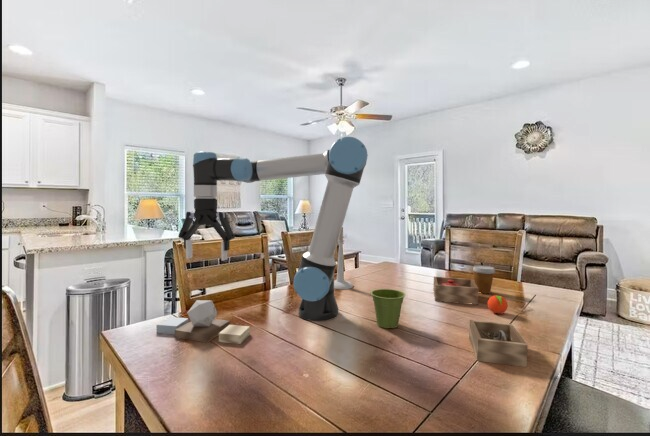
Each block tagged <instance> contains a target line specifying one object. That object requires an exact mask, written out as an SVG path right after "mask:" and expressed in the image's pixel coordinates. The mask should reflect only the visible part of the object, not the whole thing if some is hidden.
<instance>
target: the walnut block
mask: <svg viewBox="0 0 650 436" xmlns="http://www.w3.org/2000/svg"><path fill="white" fill-rule="evenodd" d="M230 321H231V320H227V319H221V318H220V319H219V318H215V319H214V320H213V321H212V323H211V324H210V326H209V327H199V326H193V325H192V323H191V320H189V323H187V324H185V325H183V326H181V327H179V328H177V329H175V334H174V338H177V339H178V338H179V339H184V340H190V341H191V340H192V341H197V342H201V343H202V342H203V343H209V342H211V340H213V339H215V338H216V337H219V333H220V332H221V331H222V330H223V329H225V328H226V327H227V326H228V325H231V323H230Z"/></svg>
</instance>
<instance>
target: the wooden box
mask: <svg viewBox="0 0 650 436" xmlns="http://www.w3.org/2000/svg"><path fill="white" fill-rule="evenodd" d="M448 280H453V281H454V282H453V283H455V284H458V285H459V286H448V285H442V284H443V283H448ZM433 291H434V292H433V297H435V298H434V301H435V302H440V301H444V302H443V303H451V302H458V303H457V304H462V303H472V304H471V305H473V304H478V305H479V293H478V291H479V288H478V287H477V285H476V284H475V280H474V279H473V278H459V277H446V276H443V277H442V276H433Z"/></svg>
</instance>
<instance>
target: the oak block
mask: <svg viewBox="0 0 650 436" xmlns="http://www.w3.org/2000/svg"><path fill="white" fill-rule="evenodd" d="M250 335H251V327H250V326H248V325H238V324H230V325H228V326H227V327H226V328H225V329H223V330H222V331H221V332H220V333H219V335H218V342H219V343H226V344H227V343H228V344H229V343H230V344H238V345H239V344H240V345H241V344H242V343H243V342H244V341H245V340H246V339H247V338H248V337H249V336H250Z"/></svg>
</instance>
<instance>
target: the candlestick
mask: <svg viewBox="0 0 650 436" xmlns="http://www.w3.org/2000/svg"><path fill="white" fill-rule="evenodd" d="M344 242H345V240H344V227H343V226H342V229H341V233H340V236H339V240H338V243H337V245H338V255H337V256H338V257H337V271H336V272H337V273H336V279H334V290H340V291H341V290H343V291H344V290H350V289H352V288H353V287H354V284H353V283H352V282H351V281H348V280H345V275H344V271H345V270H344V248H343V245H344Z"/></svg>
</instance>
